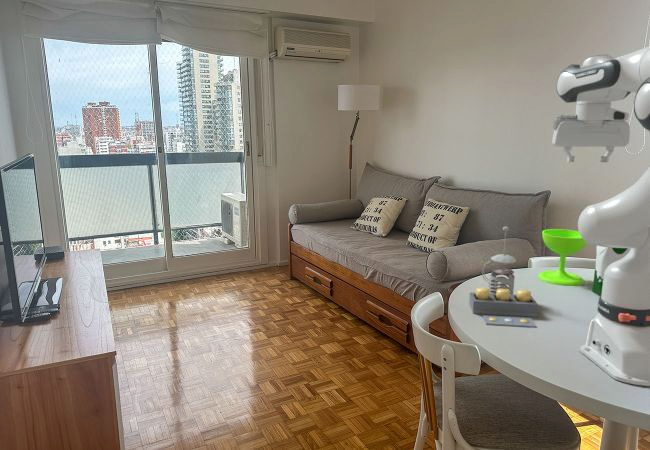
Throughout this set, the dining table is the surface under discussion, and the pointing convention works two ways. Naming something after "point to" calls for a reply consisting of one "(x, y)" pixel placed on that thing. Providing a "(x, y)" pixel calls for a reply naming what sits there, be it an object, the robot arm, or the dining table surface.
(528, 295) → the right button
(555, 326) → the dining table surface
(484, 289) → the left button
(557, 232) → the wineglass
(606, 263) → the milk carton
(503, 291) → the middle button
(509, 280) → the french press
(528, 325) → the button board
